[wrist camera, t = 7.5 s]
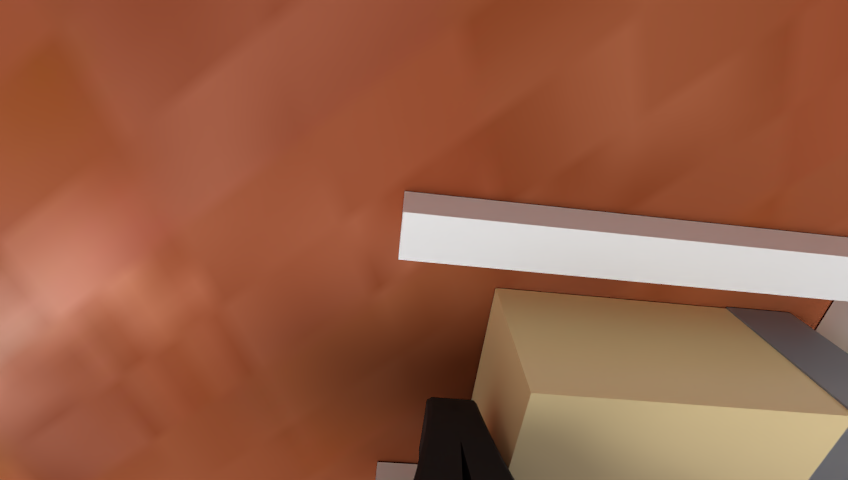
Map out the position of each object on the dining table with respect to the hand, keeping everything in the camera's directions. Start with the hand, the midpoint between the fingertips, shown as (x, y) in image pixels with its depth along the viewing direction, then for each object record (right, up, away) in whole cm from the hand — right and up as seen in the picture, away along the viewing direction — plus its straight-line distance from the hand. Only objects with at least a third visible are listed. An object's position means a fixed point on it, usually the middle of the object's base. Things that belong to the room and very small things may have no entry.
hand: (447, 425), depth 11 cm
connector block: (+6, 0, +2) cm, 6 cm away
